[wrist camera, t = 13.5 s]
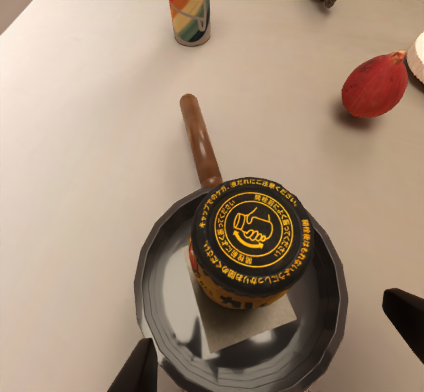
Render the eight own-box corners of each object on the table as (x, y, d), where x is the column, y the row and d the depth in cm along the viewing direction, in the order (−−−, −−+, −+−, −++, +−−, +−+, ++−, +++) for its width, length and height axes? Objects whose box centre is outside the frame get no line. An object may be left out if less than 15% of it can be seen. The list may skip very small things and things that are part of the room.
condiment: (255, 224, 22) (291, 143, 11) (296, 319, 18) (408, 335, 8) (182, 248, 21) (145, 186, 10) (210, 353, 18) (200, 424, 7)
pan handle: (225, 194, 21) (225, 184, 20) (204, 199, 21) (203, 189, 19) (196, 102, 27) (195, 88, 25) (179, 106, 27) (176, 91, 25)
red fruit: (323, 119, 28) (359, 55, 21) (339, 92, 30) (378, 25, 23) (370, 140, 27) (426, 78, 20) (384, 109, 29) (440, 44, 22)
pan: (357, 354, 18) (393, 366, 14) (163, 416, 16) (148, 447, 13) (283, 187, 24) (294, 166, 21) (140, 221, 23) (126, 205, 19)
